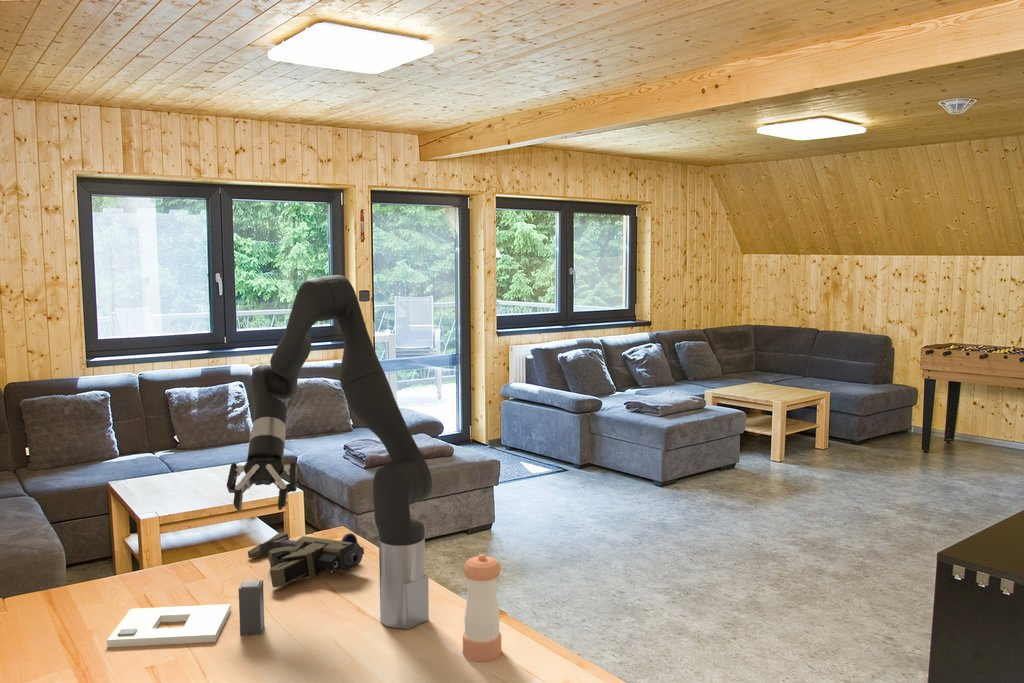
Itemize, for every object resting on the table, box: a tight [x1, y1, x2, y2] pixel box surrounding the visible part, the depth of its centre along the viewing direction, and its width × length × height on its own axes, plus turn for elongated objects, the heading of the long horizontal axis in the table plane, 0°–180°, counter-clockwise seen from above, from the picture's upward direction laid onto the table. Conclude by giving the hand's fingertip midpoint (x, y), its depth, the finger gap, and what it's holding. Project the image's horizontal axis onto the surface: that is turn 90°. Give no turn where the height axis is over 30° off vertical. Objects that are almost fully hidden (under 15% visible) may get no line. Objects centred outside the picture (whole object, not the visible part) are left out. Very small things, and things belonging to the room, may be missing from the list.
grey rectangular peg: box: [238, 579, 265, 636], centre depth 167 cm, size 4×4×10 cm
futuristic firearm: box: [247, 531, 365, 588], centre depth 199 cm, size 7×31×25 cm
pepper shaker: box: [462, 553, 502, 663], centre depth 158 cm, size 7×7×19 cm
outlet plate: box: [106, 603, 232, 648], centre depth 169 cm, size 20×14×2 cm
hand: (259, 508), depth 177 cm, fingers open, 8 cm apart
